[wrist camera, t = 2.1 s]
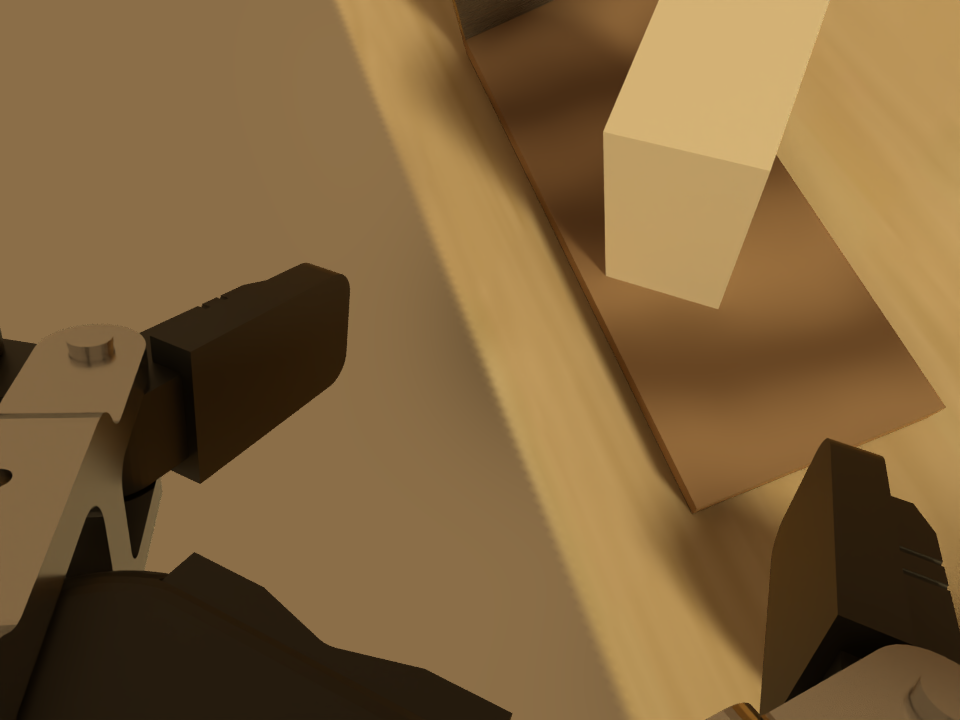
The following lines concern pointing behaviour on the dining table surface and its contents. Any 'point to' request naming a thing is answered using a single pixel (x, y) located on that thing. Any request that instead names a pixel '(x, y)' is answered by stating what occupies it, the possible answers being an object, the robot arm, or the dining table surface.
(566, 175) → the shelf board
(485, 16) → the rail
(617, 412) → the dining table surface
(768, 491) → the dining table surface
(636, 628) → the dining table surface
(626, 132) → the carton
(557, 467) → the dining table surface
